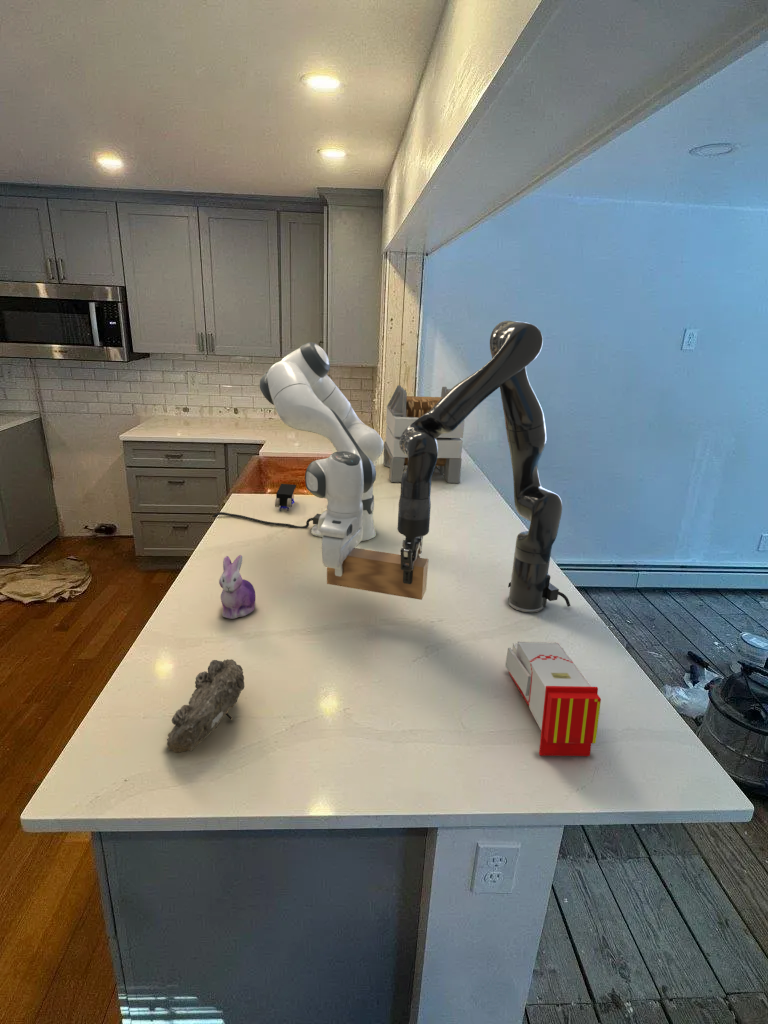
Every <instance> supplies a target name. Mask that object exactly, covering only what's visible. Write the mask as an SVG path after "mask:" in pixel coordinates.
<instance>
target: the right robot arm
mask: <svg viewBox="0 0 768 1024" xmlns="http://www.w3.org/2000/svg"><path fill="white" fill-rule="evenodd" d="M543 343H544V337H543V334H542V332H541V330H540V329H539V328H538V326H537V325H535V324H532V323H529V322H524V321H516V320H503V321H500V322H499V323H497V324H496V325H495V326H494V327H493V329H492V331H491V334H490V337H489V350H490V351H489V352H490V355H491V359H490V360H489V361H488V362H487V363H486V364H484V365H483V366H482V367H481V368H480V369H478V370H477V371H475V372H474V373H472V374H470V375H469V376H467V377H466V378H464V379H463V380H461V381H460V382H458V383H457V384H455V385H454V386H453V387H452V388H449V389H450V390H449V391H448V392H447V393H446V394H445V395H444V396H443V397H442V398H441V400H440V401H439V402H438V403H437V404H436V405H435V406H434V407H433V408H432V409H431V410H430V411H429V412H427V413H426V414H424V415H423V416H421V417H420V418H419V419H417V420H416V421H414V422H413V423H412V424H411V425H409V426H408V427H407V428H406V429H405V431H404V432H403V433H402V435H401V437H400V441H399V446H400V449H401V451H402V452H403V453H404V454H405V455H406V456H408V465H406V469H405V470H403V474H402V477H401V482H400V492H399V493H400V495H399V500H398V511H397V512H398V513H397V532H398V533H399V534H400V535H402V536H404V537H405V539H403V541H402V545H401V546H402V547H401V548H400V555H401V570H403V583H405V584H411V583H412V579H413V569H414V561H416V560H417V557H418V558H421V554H422V553H423V551H422V550H423V542H424V537H425V536H426V535H428V534H429V532H430V523H431V510H432V509H431V507H432V506H431V505H432V504H431V493H432V478H433V476H434V471H435V468H436V466H435V465H436V461H437V457H438V445H437V441H436V438H438V437H439V436H440V435H441V434H444V433H451V432H452V431H453V430H455V429H456V428H457V427H458V426H459V425H460V424H461V423H462V422H463V420H466V419H467V418H468V416H470V414H471V413H472V412H473V411H474V410H475V409H477V407H478V406H480V405H481V404H482V403H483V402H484V401H485V400H486V399H487V398H488V397H490V396H491V395H492V394H493V393H495V391H496V390H498V389H499V391H500V399H501V404H502V410H503V416H504V422H505V423H504V424H505V430H506V431H505V432H506V437H507V443H508V447H509V448H508V449H509V454H510V455H509V456H510V462H511V468H512V479H513V501H514V507H515V510H516V512H517V514H518V515H519V516H520V517H522V518H523V519H525V520H527V521H528V522H529V528H528V530H525V531H521V532H519V533H518V534H517V536H516V539H515V548H514V555H513V562H512V572H511V577H510V578H511V579H510V581H509V582H508V588H509V593H508V598H507V604H508V605H509V606H510V607H511V608H512V609H514V610H516V611H518V612H521V613H538V612H541V611H542V610H543V608H547V603H548V601H549V602H552V601H558V599H559V598H558V597H559V596H560V597H561V598H562V599H563V600H564V601H565V604H566V606H567V607H568V608H570V607H571V603H570V600H569V598H568V596H566V594H565V593H563V592H561V591H560V589H559V588H558V587H557V586H555V585H554V584H553V583H551V582H550V581H551V575H550V574H549V569H550V568H549V567H550V561H551V555H552V550H553V545H554V543H555V541H556V540H557V537H558V533H559V528H560V525H561V524H560V523H561V519H562V514H563V501H562V498H561V496H560V495H559V494H557V493H555V492H554V491H551V490H549V489H547V488H544V487H543V486H542V484H541V481H540V474H539V462H540V459H541V457H542V455H543V453H544V450H545V447H546V445H547V428H546V420H545V414H544V411H543V408H542V405H541V404H540V401H539V399H538V398H537V395H536V393H535V391H534V389H533V387H532V385H531V383H530V380H529V377H528V373H527V366H529V365H530V364H531V363H532V362H533V361H534V360H536V359H537V357H538V356H539V354H540V353H541V351H542V348H543ZM406 563H408V564H409V565H406Z"/></svg>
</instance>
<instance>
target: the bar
mask: <svg viewBox="0 0 768 1024" xmlns="http://www.w3.org/2000/svg"><path fill="white" fill-rule="evenodd" d="M406 565H409V564H408V563H406ZM342 568H344V571H343V572H344V573H343V574H342V576H336V575H335V569H334V568H329V567H326V584H327V585H331V586H338V587H343V588H349V589H355V590H361V591H367V592H372V593H379V594H384V595H390V596H391V595H392V596H397V597H403V598H409V599H413V600H420V601H422V600H423V598H424V596H425V593H426V592H427V584H428V571H429V570H428V569H429V558H424V557H420V558H418V557H417V560H416V561H414V569H413V579H412V583H411V584H405V583H403V570H401V554H398V553H391V552H384V551H379V550H371V549H364V548H358V547H355V548H354V549H353V550H352V551H351V552H350V553H349V555H348V556H347V558H346V559H345V560H344V561H343V564H342Z"/></svg>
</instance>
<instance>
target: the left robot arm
mask: <svg viewBox="0 0 768 1024" xmlns="http://www.w3.org/2000/svg"><path fill="white" fill-rule="evenodd" d="M330 368H331V362H330V359H329V356H328V354H327V352H326V351H325V350H324V349H323V348H322V347H321V346H320V345H319V344H317V343H316V342H312V341H309V342H305V343H304V344H301V345H300V346H299V348H297V349H295V350H293V351H292V352H290V353H288V354H286V355H285V356H284V357H283V358H282V359H281V360H279V361H277V362H275V363H274V364H272V365H271V366H270V368H269V369H268V371H266V372H264V374H263V375H262V376H261V378H260V379H259V390H260V391H261V393H262V395H263V397H264V398H265V400H267V401H268V402H269V403H270V404H271V405H273V406H274V408H275V410H276V413H277V415H278V417H279V419H280V420H281V421H282V422H283V423H284V425H286V426H287V427H290V428H291V429H294V430H296V431H297V430H298V431H303V432H307V433H312V434H317V435H320V436H322V437H324V438H326V439H327V440H329V442H330V443H331V444H332V446H333V448H334V449H335V450H336V451H335V452H333V453H331V454H330V455H329V457H326V458H320V459H316V460H313V461H311V462H310V463H309V464H308V466H307V468H305V469H306V470H305V472H304V481H305V482H304V483H305V487H306V489H307V491H308V492H309V493H310V494H312V496H314V497H316V498H319V499H326V500H327V501H326V502H327V505H326V509H325V510H323V512H321V513H316V514H315V515H314V516H313V517H309V518H307V520H306V521H305V523H306V524H305V525H303V526H299V525H294V524H290V523H283V522H282V523H281V522H273V521H267V520H263V519H257V518H254V517H251V516H246V515H241V514H236V513H229V512H224V511H220V512H216V513H214V514H213V515H212V518H217V517H218V516H227V517H234V518H239V519H243V520H248V521H252V522H256V523H260V524H264V525H270V526H276V527H277V526H278V527H288V528H293V529H307V528H309V526H310V522H311V521H312V525H313V526H312V528H311V530H310V533H311V536H315V537H319V538H322V539H321V560H322V564H323V566H324V567H325V568H327V567H329V568H334V569H335V575H336V576H342V574H343V573H344V572H343V571H344V568H342V564H343V561H344V560H345V559H346V558H347V556H348V555H349V553H350V552H351V551H352V550H353V549H354V548H357V546H358V545H360V543H361V542H365V541H368V540H372V539H373V538H375V537H376V535H377V532H376V528H375V523H374V513H373V512H374V509H375V496H374V483H375V481H376V479H377V470H376V466H377V463H378V460H379V458H380V457H381V456H382V454H383V453H384V440H383V438H382V436H381V435H380V433H379V432H378V431H377V430H376V429H374V428H372V427H370V426H369V425H367V424H366V423H364V422H363V421H362V420H361V419H360V417H359V416H358V415H357V413H356V412H355V410H354V409H353V406H352V403H351V402H350V401H349V400H348V398H347V397H346V396H345V394H344V393H343V392H342V390H341V389H340V388H339V386H337V384H336V383H335V382H334V381H333V380H332V379H331V377H330V376H329V375H328V373H329V372H330Z"/></svg>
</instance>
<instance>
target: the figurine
mask: <svg viewBox="0 0 768 1024" xmlns="http://www.w3.org/2000/svg"><path fill="white" fill-rule="evenodd" d="M222 560H223V561H222V571H223V572H222V573H221V575H220V578H219V579H218V585H219V587H220V588H221V589H222V591H221V593H220V602H221V605H222V614H221V615H222V617H223V618H226V619H237V618H241V617H245V616H247V615H249V614H251V613H253V612H254V611H255V607H256V590H255V588H254V586H253V585H254V584H252V583H251V582H250V581H249V580H247V579H243V577H242V575H241V573H240V570H241V568H242V564H243V555H241V554H239V555H237V557H236V558H234V560H233V562H232V561H231V558H230V556H228V555H226V556H224V557H223V559H222Z"/></svg>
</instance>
